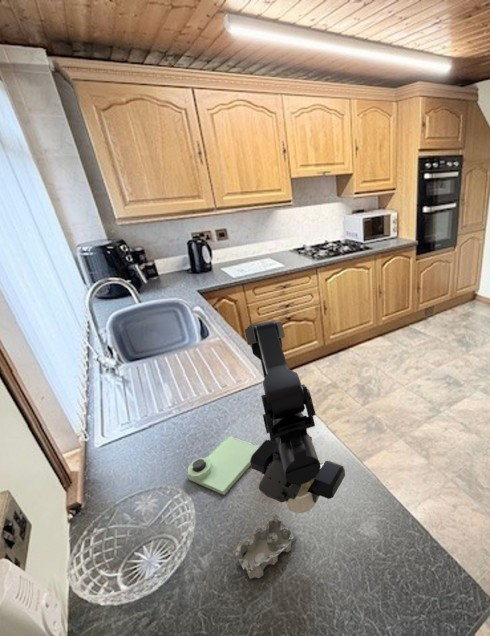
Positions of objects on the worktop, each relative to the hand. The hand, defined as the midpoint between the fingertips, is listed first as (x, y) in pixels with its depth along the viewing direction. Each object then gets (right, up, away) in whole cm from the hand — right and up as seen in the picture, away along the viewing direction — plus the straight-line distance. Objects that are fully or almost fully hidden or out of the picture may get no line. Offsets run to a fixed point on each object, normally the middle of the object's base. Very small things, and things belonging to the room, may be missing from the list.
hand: (301, 494), depth 72 cm
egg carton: (-7, -12, +1) cm, 14 cm away
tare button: (-29, -2, +18) cm, 35 cm away
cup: (0, -1, +1) cm, 2 cm away
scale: (-24, -3, +21) cm, 32 cm away
